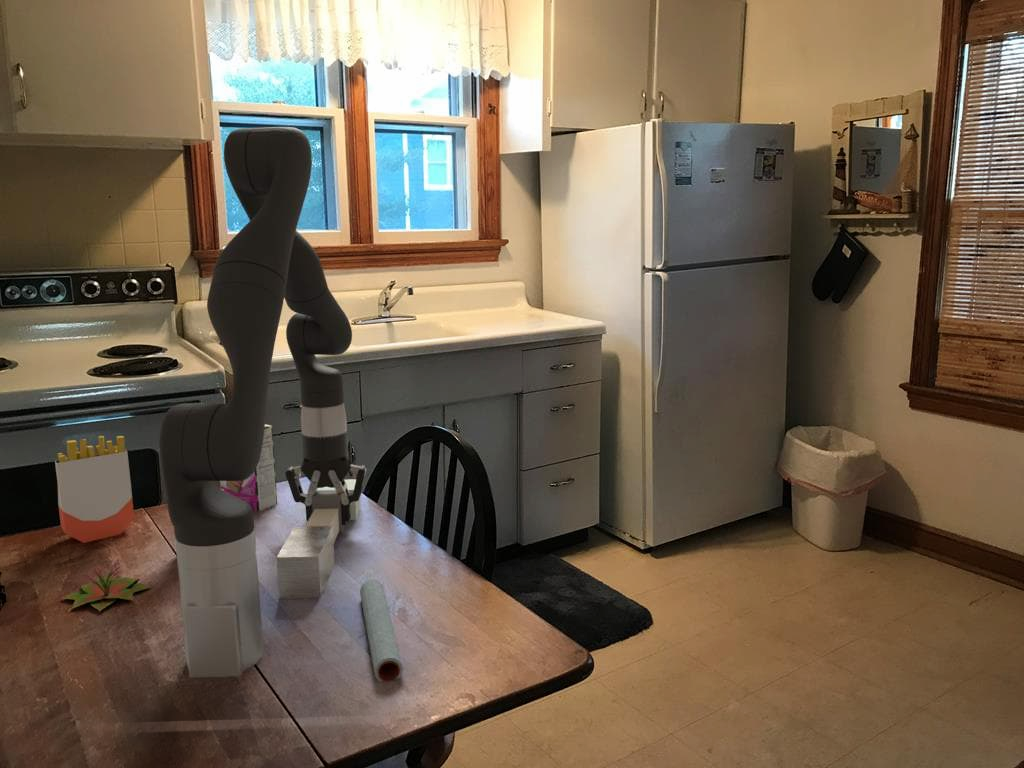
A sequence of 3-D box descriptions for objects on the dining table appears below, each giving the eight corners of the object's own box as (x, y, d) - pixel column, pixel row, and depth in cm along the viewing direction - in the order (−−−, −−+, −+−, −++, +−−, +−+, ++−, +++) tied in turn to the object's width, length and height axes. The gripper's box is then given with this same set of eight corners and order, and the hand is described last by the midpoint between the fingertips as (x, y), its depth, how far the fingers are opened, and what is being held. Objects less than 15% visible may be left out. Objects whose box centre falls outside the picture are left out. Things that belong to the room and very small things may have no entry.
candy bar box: (218, 504, 160) (212, 422, 157) (239, 497, 164) (233, 416, 161) (258, 515, 154) (252, 430, 151) (279, 507, 159) (273, 424, 155)
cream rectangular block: (334, 563, 133) (332, 525, 132) (320, 597, 121) (318, 556, 120) (296, 564, 133) (294, 526, 131) (279, 598, 121) (276, 557, 120)
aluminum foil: (403, 682, 100) (402, 656, 99) (347, 690, 98) (346, 664, 98) (383, 599, 122) (383, 577, 121) (337, 604, 120) (336, 582, 119)
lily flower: (43, 604, 121) (39, 575, 120) (116, 573, 131) (113, 546, 130) (97, 623, 115) (93, 592, 114) (168, 588, 125) (166, 560, 125)
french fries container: (62, 539, 144) (49, 438, 140) (129, 525, 150) (119, 428, 146) (67, 547, 140) (54, 444, 136) (135, 532, 147) (125, 433, 143)
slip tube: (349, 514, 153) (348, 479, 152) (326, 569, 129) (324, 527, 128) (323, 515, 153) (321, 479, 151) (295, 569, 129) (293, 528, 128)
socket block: (360, 511, 156) (359, 479, 155) (356, 523, 150) (354, 489, 149) (317, 512, 156) (316, 480, 154) (311, 524, 150) (309, 490, 148)
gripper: (276, 435, 138) (283, 532, 141) (363, 434, 138) (367, 531, 142) (286, 424, 145) (292, 517, 148) (369, 423, 146) (373, 515, 149)
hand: (329, 523), depth 145 cm, fingers closed on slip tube, 4 cm apart
